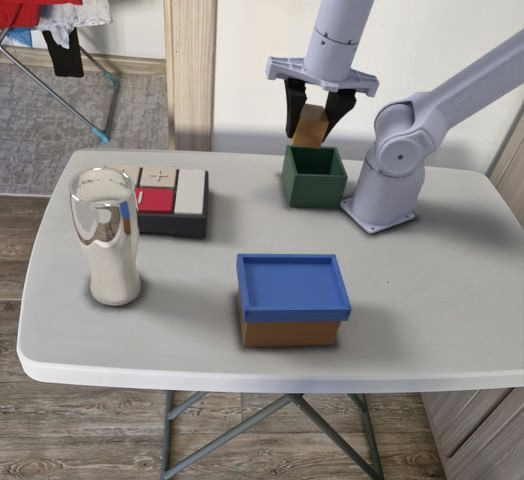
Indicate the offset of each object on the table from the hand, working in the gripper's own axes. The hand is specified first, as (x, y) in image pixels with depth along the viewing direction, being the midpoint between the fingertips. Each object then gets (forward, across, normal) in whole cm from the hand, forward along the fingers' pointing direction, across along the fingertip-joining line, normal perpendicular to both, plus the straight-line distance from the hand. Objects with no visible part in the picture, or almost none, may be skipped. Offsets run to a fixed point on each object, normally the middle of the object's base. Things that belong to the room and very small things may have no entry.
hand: (304, 136), depth 73 cm
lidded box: (+10, -4, -25) cm, 27 cm away
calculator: (+13, -20, -3) cm, 24 cm away
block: (0, 0, 0) cm, 0 cm away
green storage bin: (+10, +4, +2) cm, 11 cm away
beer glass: (+13, -24, -19) cm, 33 cm away
